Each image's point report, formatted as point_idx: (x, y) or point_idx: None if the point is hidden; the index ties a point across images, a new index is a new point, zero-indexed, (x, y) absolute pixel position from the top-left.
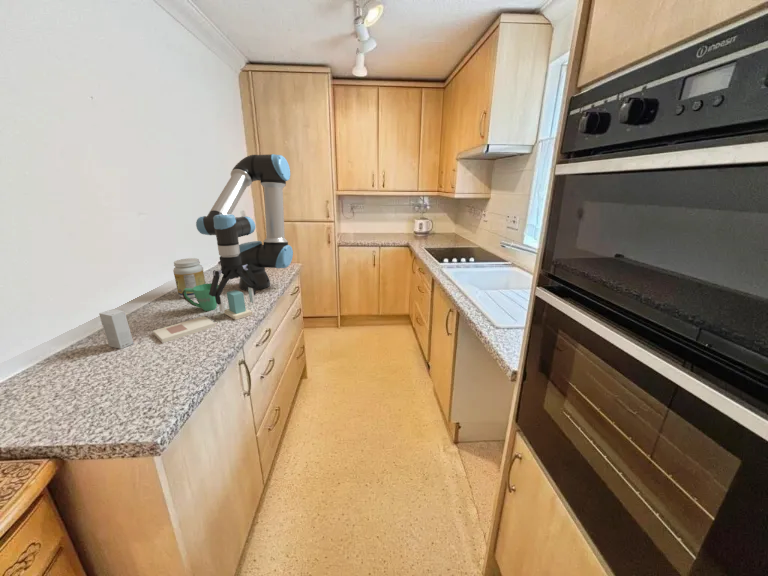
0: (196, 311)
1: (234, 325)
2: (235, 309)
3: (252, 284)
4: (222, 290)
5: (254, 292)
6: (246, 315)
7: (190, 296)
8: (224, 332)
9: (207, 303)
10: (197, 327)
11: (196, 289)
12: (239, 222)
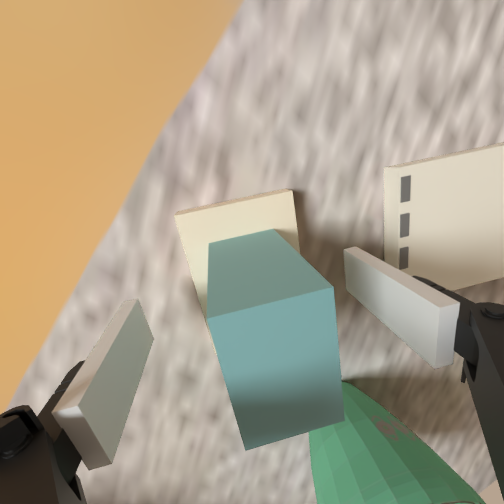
0: (381, 397)
1: (314, 107)
2: (282, 239)
3: (5, 485)
4: (497, 362)
5: (72, 379)
6: (215, 204)
7: None
8: (393, 31)
9: (375, 408)
10: (492, 159)
11: None
12: None
